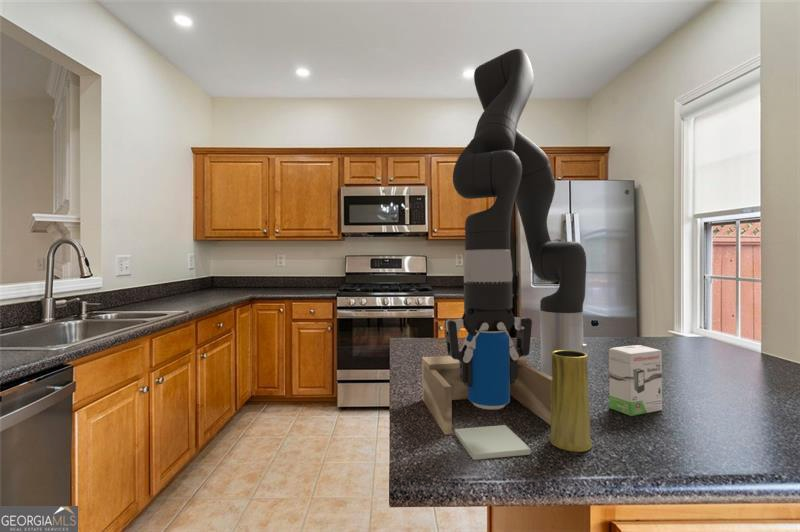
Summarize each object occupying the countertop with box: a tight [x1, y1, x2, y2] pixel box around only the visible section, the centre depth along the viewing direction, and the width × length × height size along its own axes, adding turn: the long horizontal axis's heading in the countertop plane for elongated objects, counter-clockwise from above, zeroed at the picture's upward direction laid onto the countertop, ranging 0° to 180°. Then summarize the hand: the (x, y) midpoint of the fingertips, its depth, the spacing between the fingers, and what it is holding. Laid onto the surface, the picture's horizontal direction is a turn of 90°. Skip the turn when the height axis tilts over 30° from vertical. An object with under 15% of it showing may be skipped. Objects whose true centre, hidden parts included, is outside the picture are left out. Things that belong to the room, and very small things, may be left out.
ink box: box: [608, 344, 663, 417], centre depth 77 cm, size 9×5×12 cm, turn 110°
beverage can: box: [467, 330, 511, 411], centre depth 63 cm, size 6×6×12 cm
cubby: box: [421, 355, 552, 436], centre depth 77 cm, size 20×17×9 cm
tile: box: [454, 424, 532, 461], centre depth 63 cm, size 9×9×1 cm
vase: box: [549, 350, 593, 453], centre depth 63 cm, size 6×6×14 cm
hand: (488, 383), depth 63 cm, fingers closed on beverage can, 6 cm apart
